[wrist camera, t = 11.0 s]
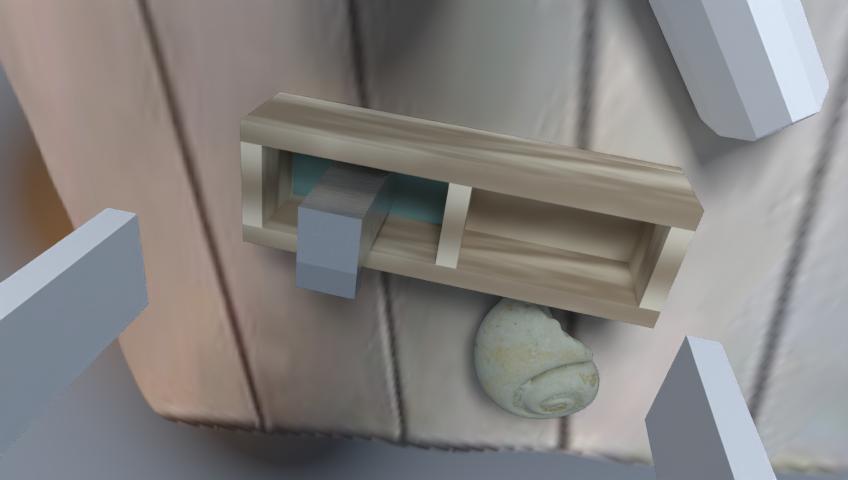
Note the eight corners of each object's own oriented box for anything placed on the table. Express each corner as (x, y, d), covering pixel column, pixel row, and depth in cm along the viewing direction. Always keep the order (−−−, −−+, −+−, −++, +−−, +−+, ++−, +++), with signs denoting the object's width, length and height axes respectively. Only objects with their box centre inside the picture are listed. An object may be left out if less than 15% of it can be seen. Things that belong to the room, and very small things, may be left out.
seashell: (615, 439, 47) (492, 459, 48) (595, 380, 54) (489, 399, 56) (588, 301, 42) (454, 328, 44) (570, 257, 50) (456, 281, 51)
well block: (279, 91, 45) (240, 120, 39) (681, 168, 43) (704, 211, 37) (279, 201, 50) (243, 241, 44) (639, 275, 47) (653, 328, 41)
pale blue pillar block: (348, 143, 45) (298, 206, 36) (399, 154, 45) (361, 219, 35) (343, 212, 48) (295, 286, 39) (390, 222, 48) (354, 299, 38)
